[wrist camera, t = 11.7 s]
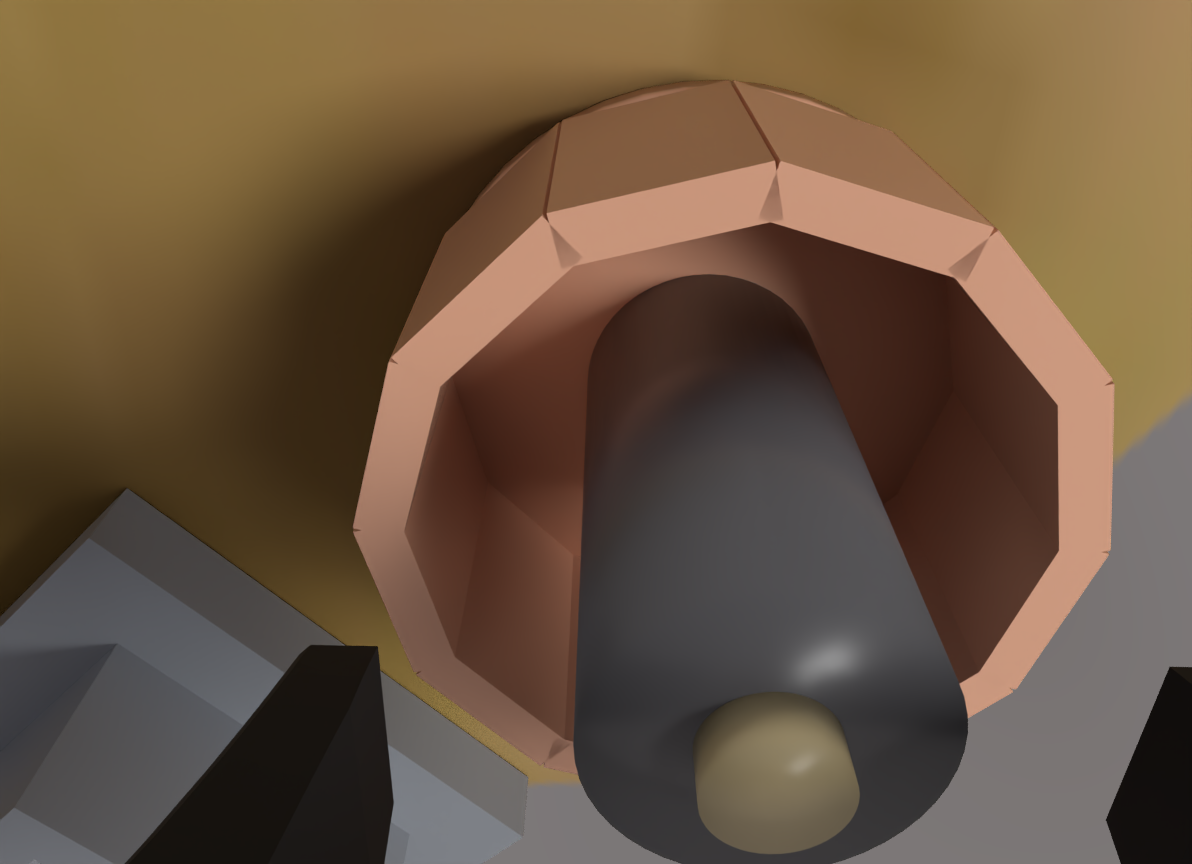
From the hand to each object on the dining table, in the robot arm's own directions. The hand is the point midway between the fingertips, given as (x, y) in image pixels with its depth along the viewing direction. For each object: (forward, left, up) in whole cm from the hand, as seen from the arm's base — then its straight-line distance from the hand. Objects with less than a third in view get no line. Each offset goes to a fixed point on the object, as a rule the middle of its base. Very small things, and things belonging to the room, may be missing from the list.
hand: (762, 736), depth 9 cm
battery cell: (0, 0, -7) cm, 7 cm away
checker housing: (-14, 0, -8) cm, 16 cm away
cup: (0, 0, -8) cm, 8 cm away
